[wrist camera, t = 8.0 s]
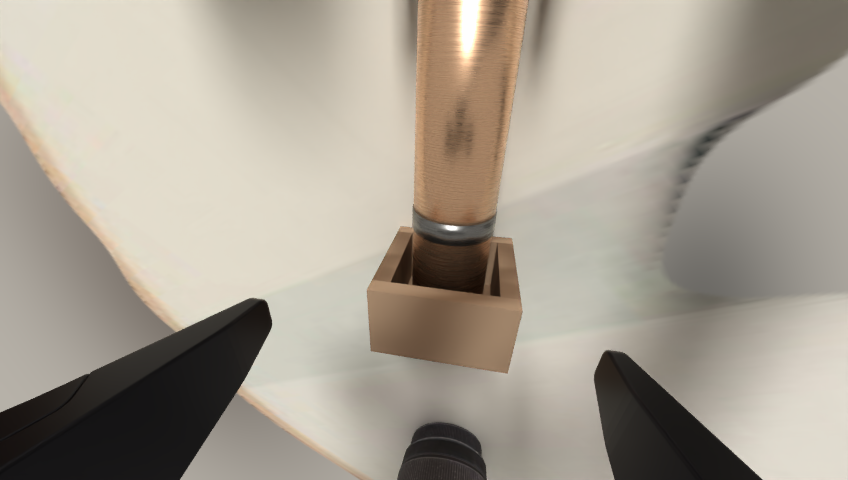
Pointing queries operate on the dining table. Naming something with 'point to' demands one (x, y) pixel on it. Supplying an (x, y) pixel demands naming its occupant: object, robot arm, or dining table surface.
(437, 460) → the camera lens
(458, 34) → the tube
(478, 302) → the socket
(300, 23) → the dining table surface
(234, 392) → the robot arm
